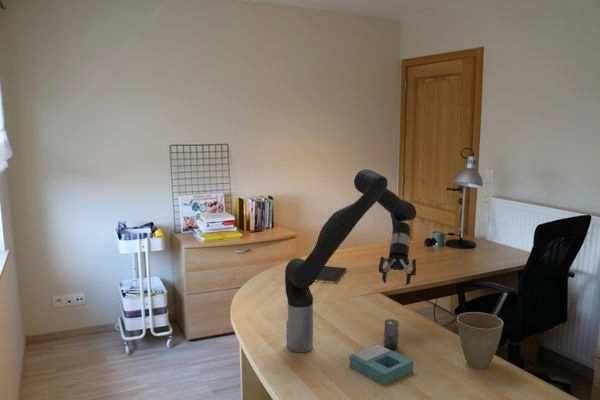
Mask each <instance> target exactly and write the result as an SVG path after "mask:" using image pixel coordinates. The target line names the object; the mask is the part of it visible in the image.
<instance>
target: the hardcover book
mask: <svg viewBox="0 0 600 400" xmlns="http://www.w3.org/2000/svg"><path fill="white" fill-rule="evenodd" d="M346 272H347V267H338V266H329V265H328V266H327V265H325V266H324V268H323V269H322V271H321V272H320V274H319V276H318V277H317V279H316V280H317V281H324V282H332V283H331V284H334V283H336V284H338V282H339V281H340V280H341V279H342V277H343V276H344V274H345V273H346ZM342 275H343V276H342ZM339 279H340V280H339ZM338 280H339V281H338ZM337 281H338V282H337ZM324 282H323V283H324Z"/></svg>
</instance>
